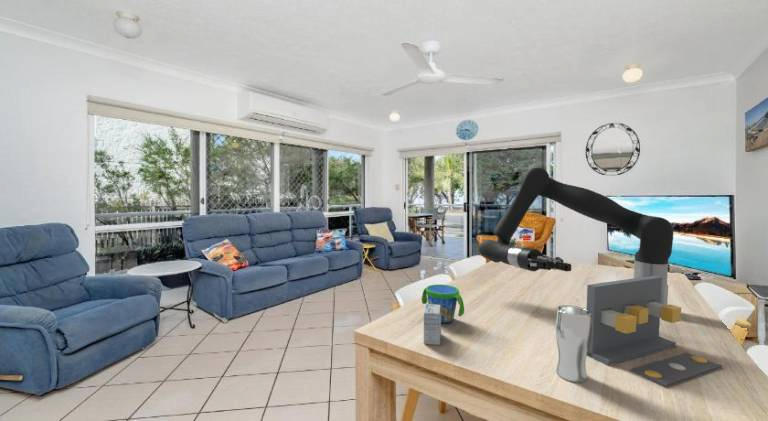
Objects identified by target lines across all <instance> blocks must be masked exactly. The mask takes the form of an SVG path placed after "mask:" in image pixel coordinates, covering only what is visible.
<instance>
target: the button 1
mask: <svg viewBox="0 0 768 421" xmlns="http://www.w3.org/2000/svg"><path fill="white" fill-rule="evenodd" d="M636 318H637V317H636V316H633V315H630V314H627V313H624V314H622V313H619V312H615V311H612V310H609V309H603V310H601V323H603V324H606V325H608V326H611V327H614V328H615V330H617V331H620V332H623V333H625V334H627V333H631V332H636Z"/></svg>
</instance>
